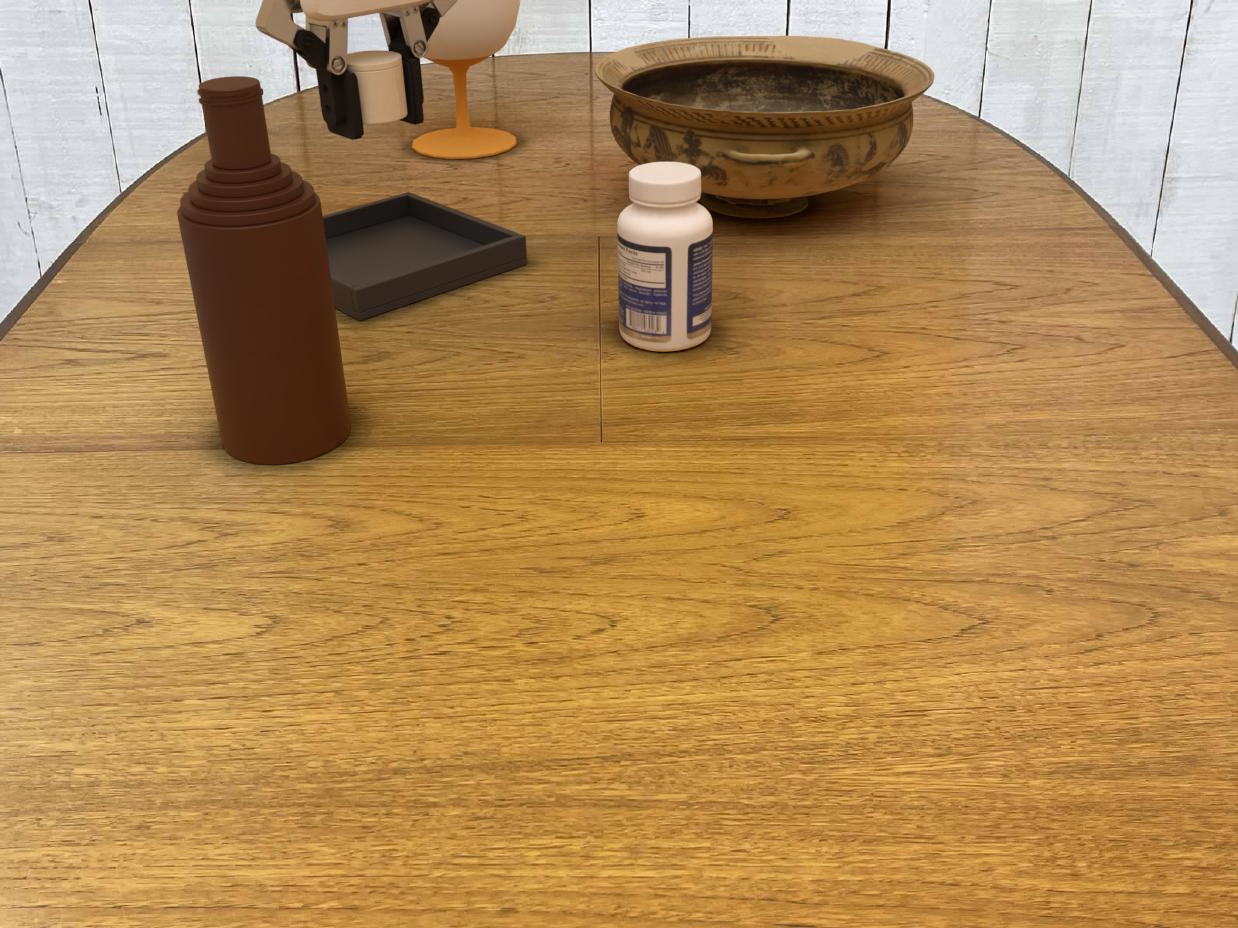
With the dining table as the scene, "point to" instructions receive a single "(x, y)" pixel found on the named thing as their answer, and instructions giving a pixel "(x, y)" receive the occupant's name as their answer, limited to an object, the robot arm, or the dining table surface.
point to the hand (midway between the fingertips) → (376, 124)
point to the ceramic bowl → (764, 114)
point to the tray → (411, 252)
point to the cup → (459, 44)
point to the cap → (379, 85)
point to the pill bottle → (665, 259)
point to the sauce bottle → (262, 288)
